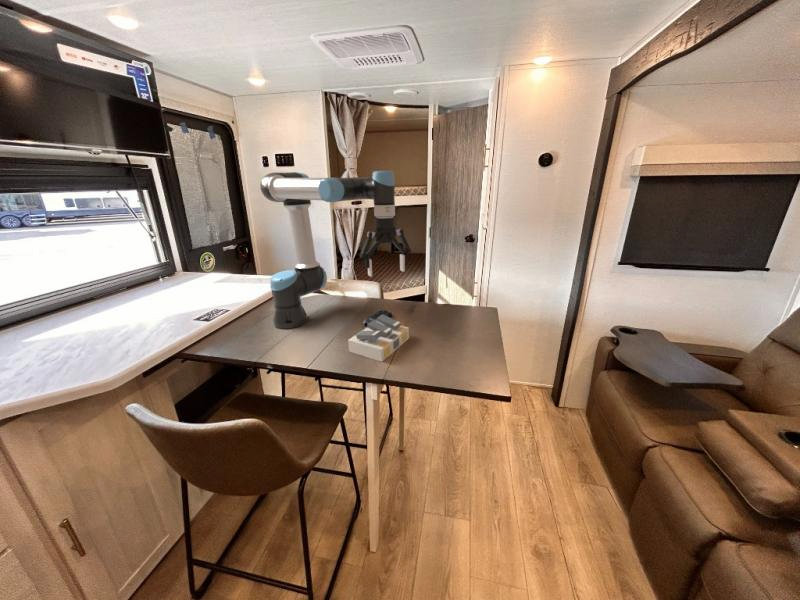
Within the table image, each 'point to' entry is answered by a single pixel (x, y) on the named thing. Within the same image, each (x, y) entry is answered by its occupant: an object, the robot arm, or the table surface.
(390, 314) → the electronic device
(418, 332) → the table surface
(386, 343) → the switch unit
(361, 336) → the rocker
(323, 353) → the table surface
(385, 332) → the block
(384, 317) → the block
